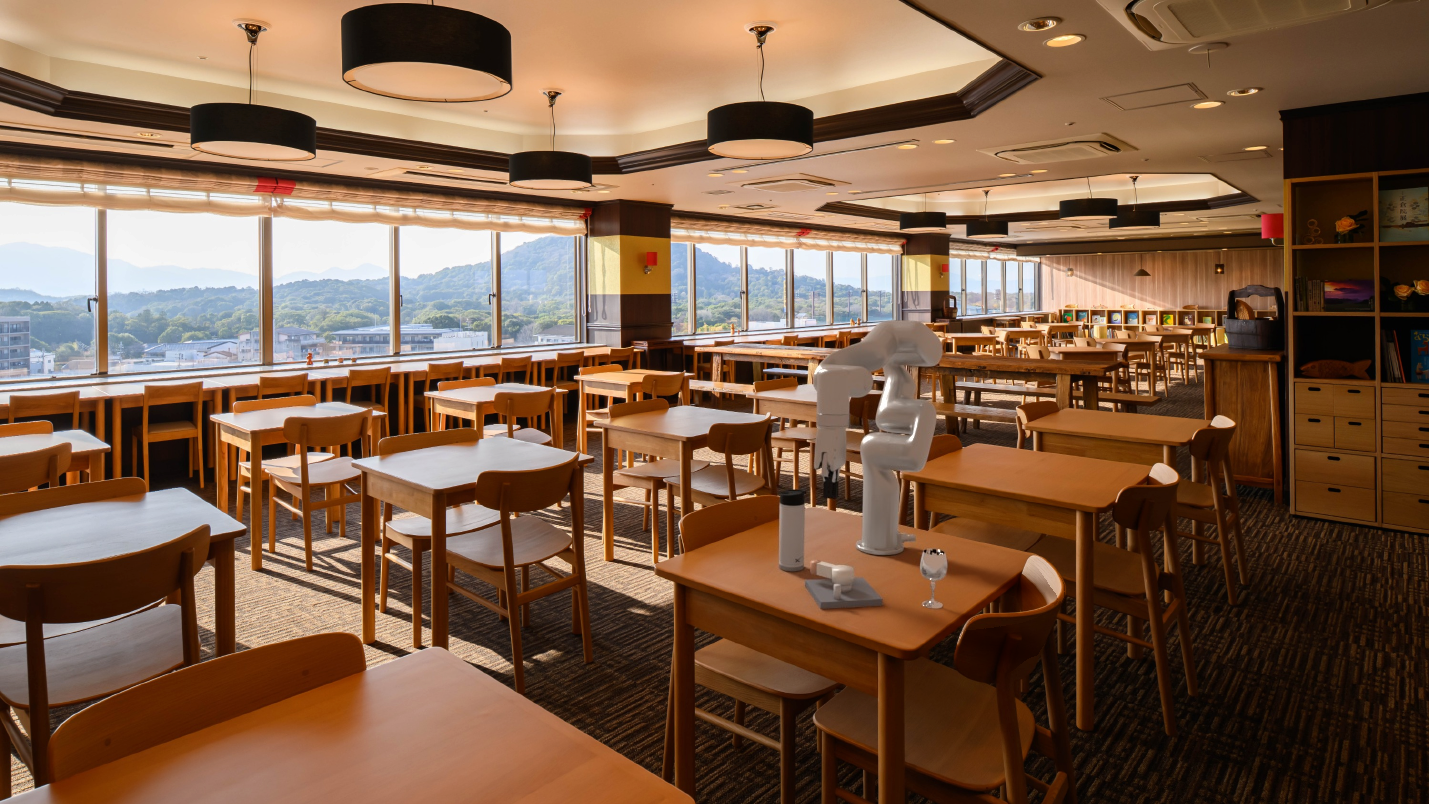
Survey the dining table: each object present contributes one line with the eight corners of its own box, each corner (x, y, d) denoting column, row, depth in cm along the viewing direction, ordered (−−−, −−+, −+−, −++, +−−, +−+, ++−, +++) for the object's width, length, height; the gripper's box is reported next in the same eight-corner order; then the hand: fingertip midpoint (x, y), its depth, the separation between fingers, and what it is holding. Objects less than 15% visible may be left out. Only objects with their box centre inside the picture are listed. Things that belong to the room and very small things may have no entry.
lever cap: (858, 581, 179) (858, 568, 178) (846, 587, 175) (846, 574, 175) (817, 569, 186) (817, 557, 186) (804, 575, 182) (805, 562, 182)
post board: (862, 583, 187) (862, 564, 186) (882, 605, 173) (883, 585, 172) (804, 585, 185) (805, 567, 184) (820, 608, 171) (820, 588, 171)
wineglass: (915, 600, 176) (916, 548, 175) (940, 599, 176) (942, 547, 175) (924, 610, 170) (925, 556, 169) (949, 609, 171) (952, 555, 169)
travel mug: (804, 572, 194) (805, 493, 191) (777, 570, 195) (778, 492, 193) (806, 564, 200) (807, 487, 198) (780, 562, 201) (781, 486, 199)
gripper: (827, 416, 192) (826, 489, 194) (806, 423, 179) (804, 502, 181) (857, 418, 189) (855, 493, 191) (837, 426, 175) (835, 506, 177)
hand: (830, 497), depth 186 cm, fingers closed
